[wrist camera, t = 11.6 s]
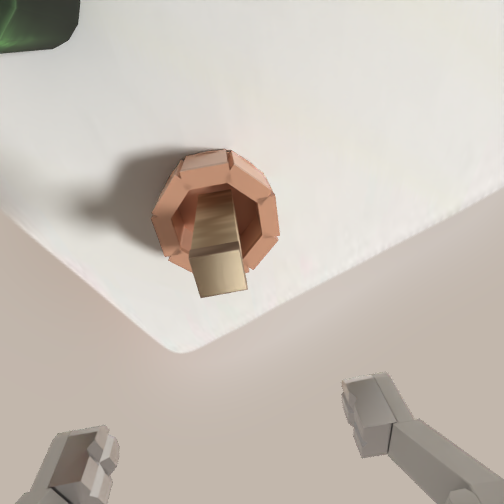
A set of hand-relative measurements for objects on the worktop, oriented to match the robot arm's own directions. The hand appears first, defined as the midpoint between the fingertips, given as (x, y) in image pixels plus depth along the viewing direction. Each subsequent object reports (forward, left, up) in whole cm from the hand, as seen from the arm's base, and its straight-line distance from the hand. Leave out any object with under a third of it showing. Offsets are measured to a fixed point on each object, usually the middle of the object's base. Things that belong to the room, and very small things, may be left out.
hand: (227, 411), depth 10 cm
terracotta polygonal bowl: (0, +1, -21) cm, 21 cm away
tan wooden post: (0, +1, -20) cm, 20 cm away
